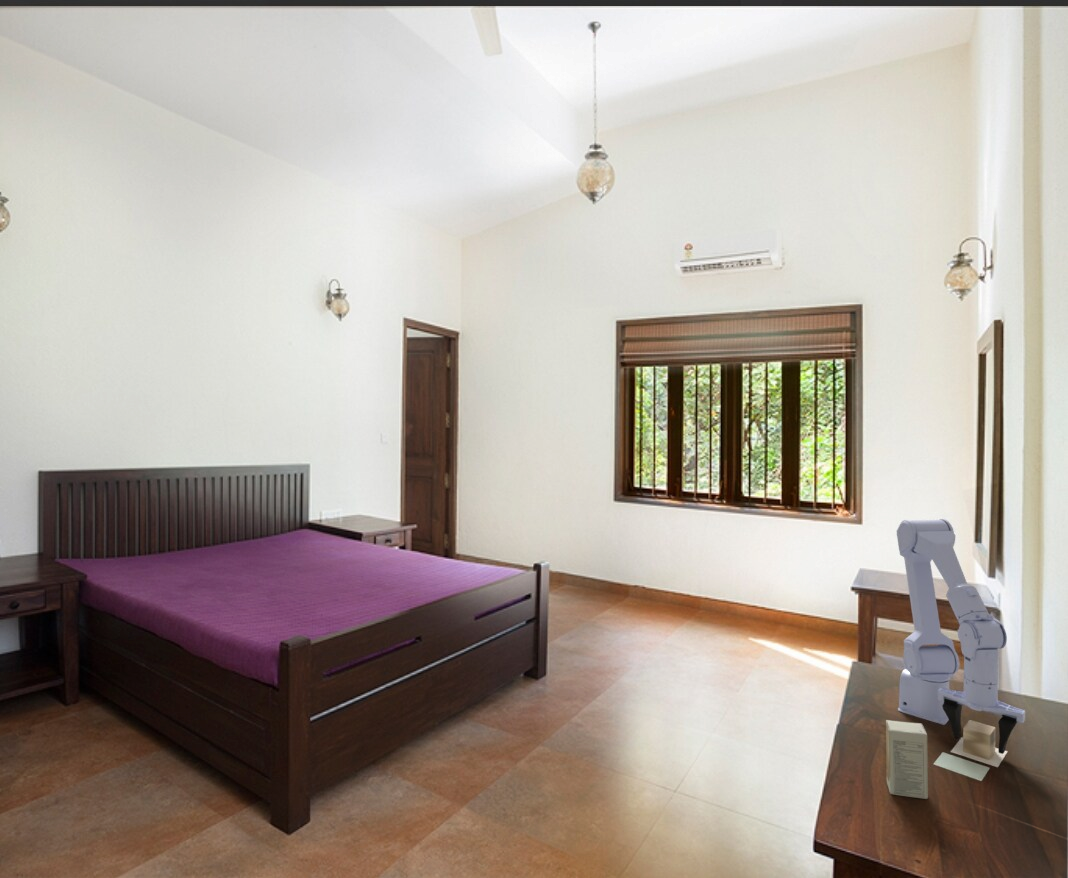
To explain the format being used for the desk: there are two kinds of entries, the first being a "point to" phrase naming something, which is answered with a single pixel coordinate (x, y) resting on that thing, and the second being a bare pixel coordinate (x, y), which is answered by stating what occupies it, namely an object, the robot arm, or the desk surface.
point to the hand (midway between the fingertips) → (979, 744)
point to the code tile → (993, 761)
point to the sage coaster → (961, 766)
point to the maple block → (979, 739)
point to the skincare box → (906, 759)
